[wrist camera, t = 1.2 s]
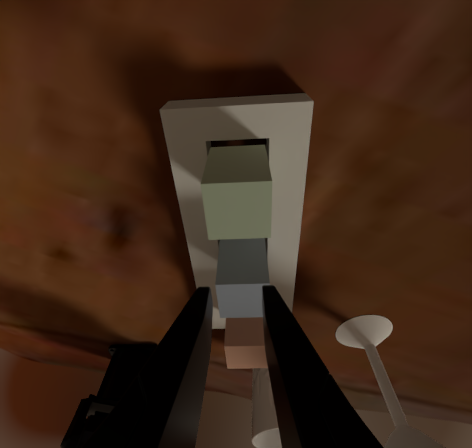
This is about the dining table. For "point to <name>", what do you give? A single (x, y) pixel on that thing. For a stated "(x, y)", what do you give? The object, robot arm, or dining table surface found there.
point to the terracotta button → (245, 343)
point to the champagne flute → (383, 377)
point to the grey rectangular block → (241, 277)
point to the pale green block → (237, 193)
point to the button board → (281, 167)
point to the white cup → (264, 412)
